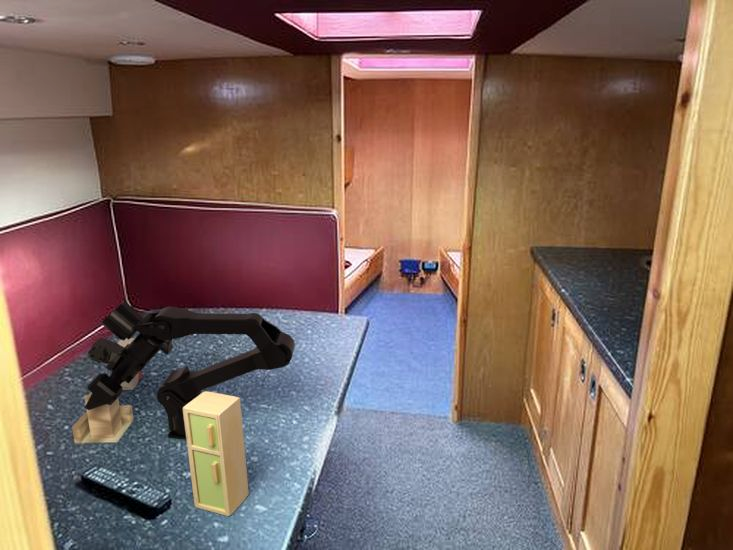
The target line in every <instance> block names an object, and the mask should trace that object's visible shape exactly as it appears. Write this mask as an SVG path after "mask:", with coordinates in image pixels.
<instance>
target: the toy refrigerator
mask: <svg viewBox="0 0 733 550" xmlns="http://www.w3.org/2000/svg"><path fill="white" fill-rule="evenodd" d="M183 416H184V423H185V432H186V439H185V440H186V445H187V453H188V454H187V455H188V463H189V471H190V479H191V480H190V481H191V487H192V495H193V502H194V507H195V508H197V509H200V510H205V511H208V512H212V513H215V514H219V515H222V516H226V517H230V516H231V515H233V514H234V513H235V511H237V509H238V508H239V507H240V505H242V503H244V501H245V500H246V499H247V498H248V496H249V495H250V494H249V493H250V492H249V483H248V482H249V479H248V470H247V461H246V460H247V458H246V450H245V447H246V446H245V439H244V438H245V436H244V428H243V427H244V425H243V415H242V404H241V398H240V397H238V396H233V395H229V394H224V393H223V394H222V393H219V392H218V393H217V392H213V391H207V390H206V391H202V392H201V394H200V395H199V396H197V397H196V398H195V399H193V400H192V401H191V402H189V403H188V404H187V405H185V406H184V407H183Z"/></svg>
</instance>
